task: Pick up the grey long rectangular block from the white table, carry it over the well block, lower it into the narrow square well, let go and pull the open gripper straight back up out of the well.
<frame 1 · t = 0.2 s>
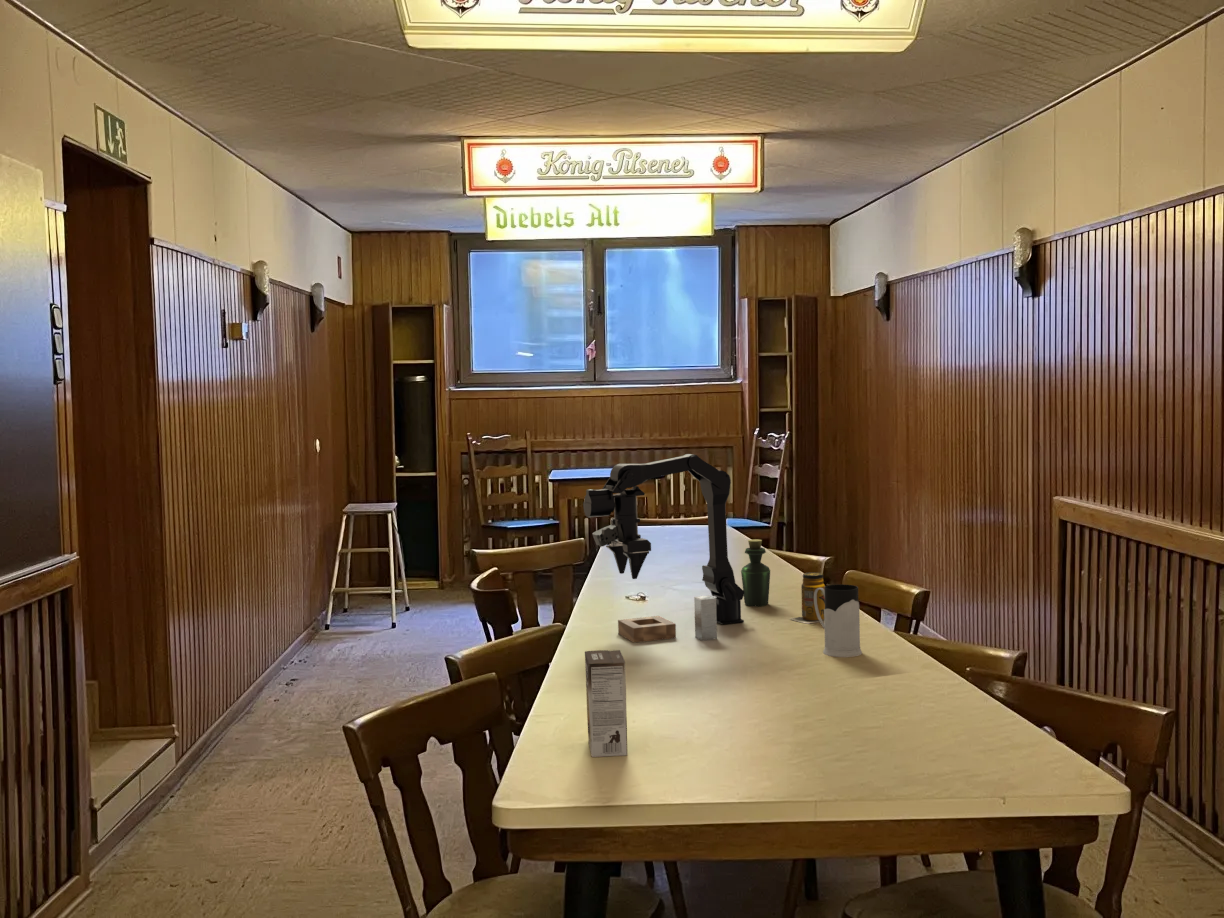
hand: (628, 576, 285), 14 cm above the table, fingers open, 9 cm apart
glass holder: (834, 651, 261), on the table
potion bottle: (756, 605, 317), on the table
condiment: (810, 620, 295), on the table
grey long rectangular block: (706, 638, 277), on the table
coffee box: (607, 749, 195), on the table
well block: (646, 635, 282), on the table
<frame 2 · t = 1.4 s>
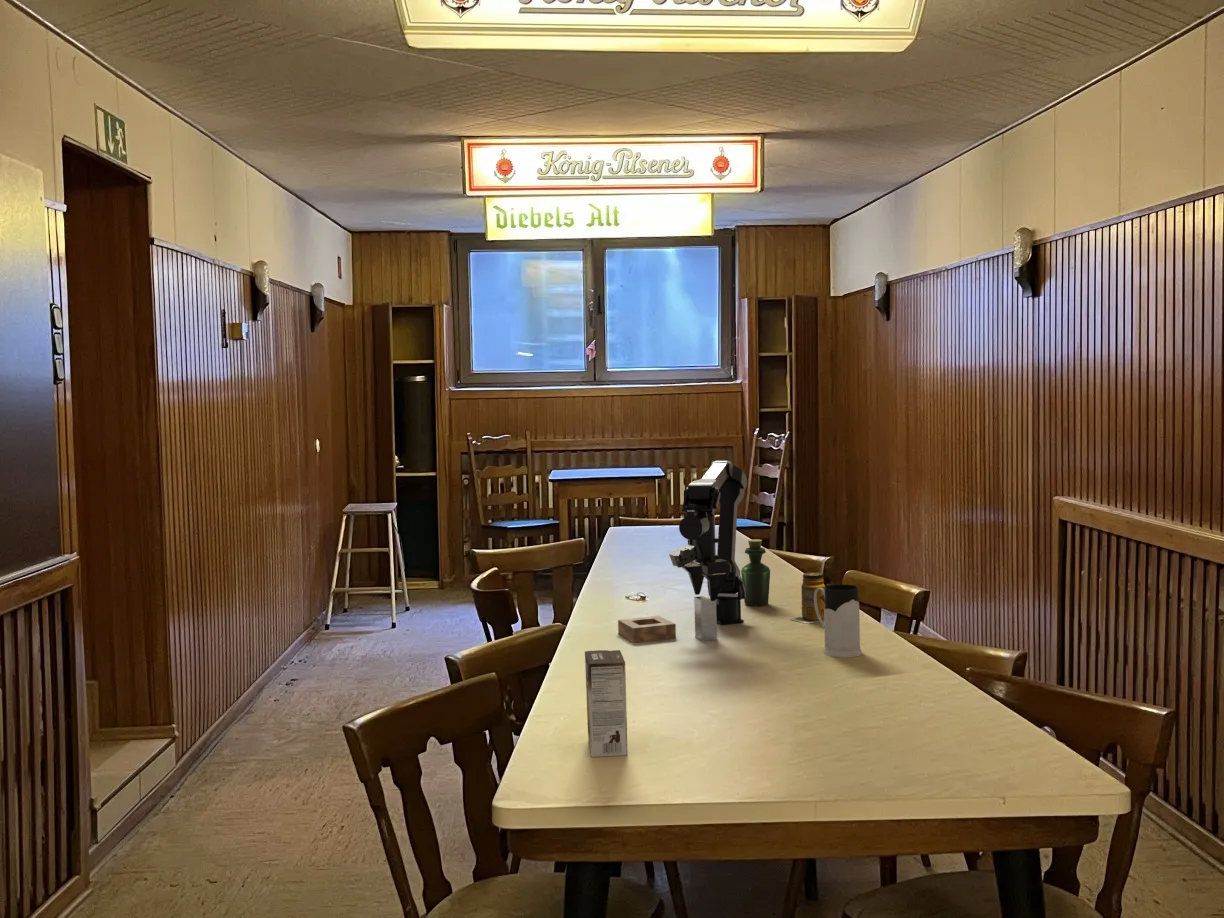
hand: (705, 597, 277), 10 cm above the table, fingers open, 9 cm apart
nothing on the table moved.
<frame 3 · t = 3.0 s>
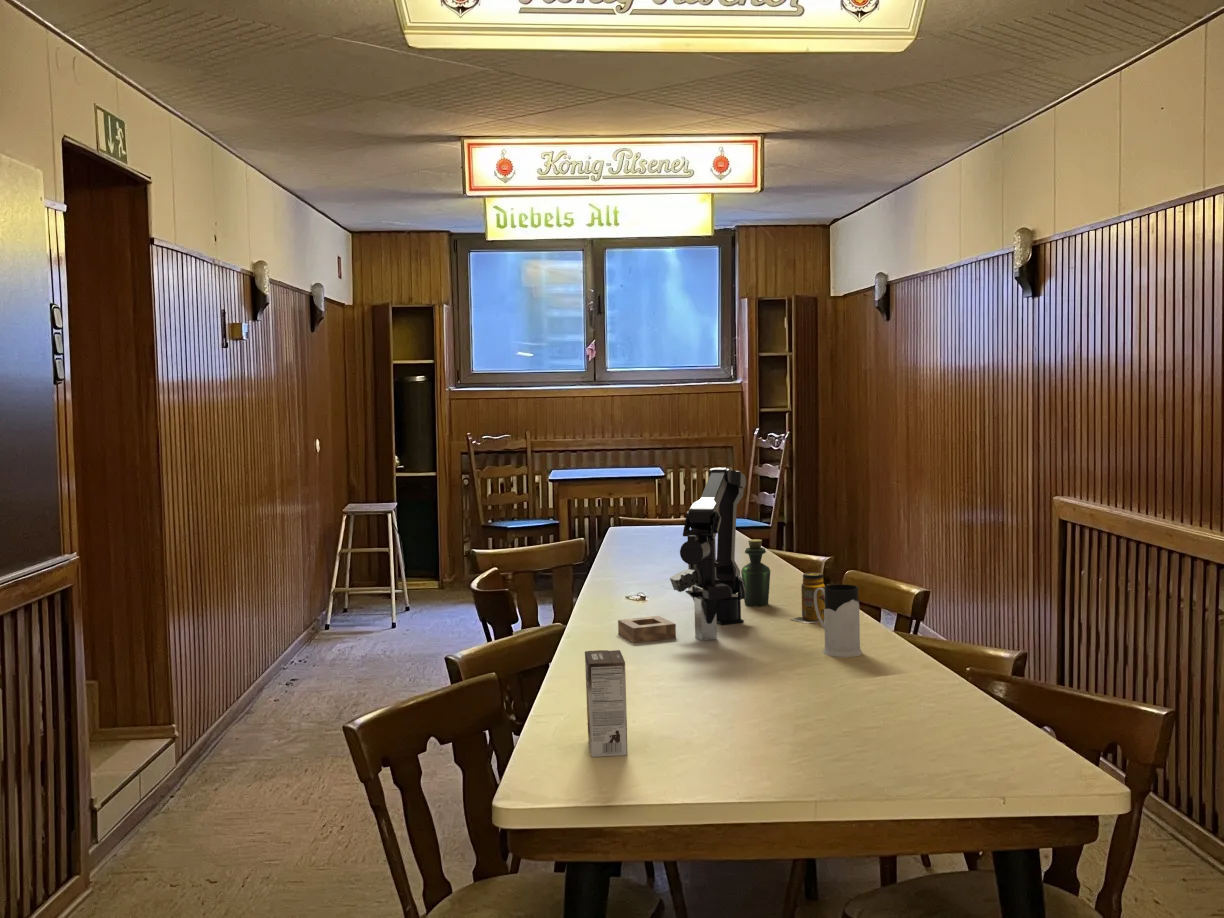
hand: (705, 621, 277), 4 cm above the table, fingers closed on grey long rectangular block, 4 cm apart
grey long rectangular block: (706, 638, 277), on the table, touching gripper
everything else where it was.
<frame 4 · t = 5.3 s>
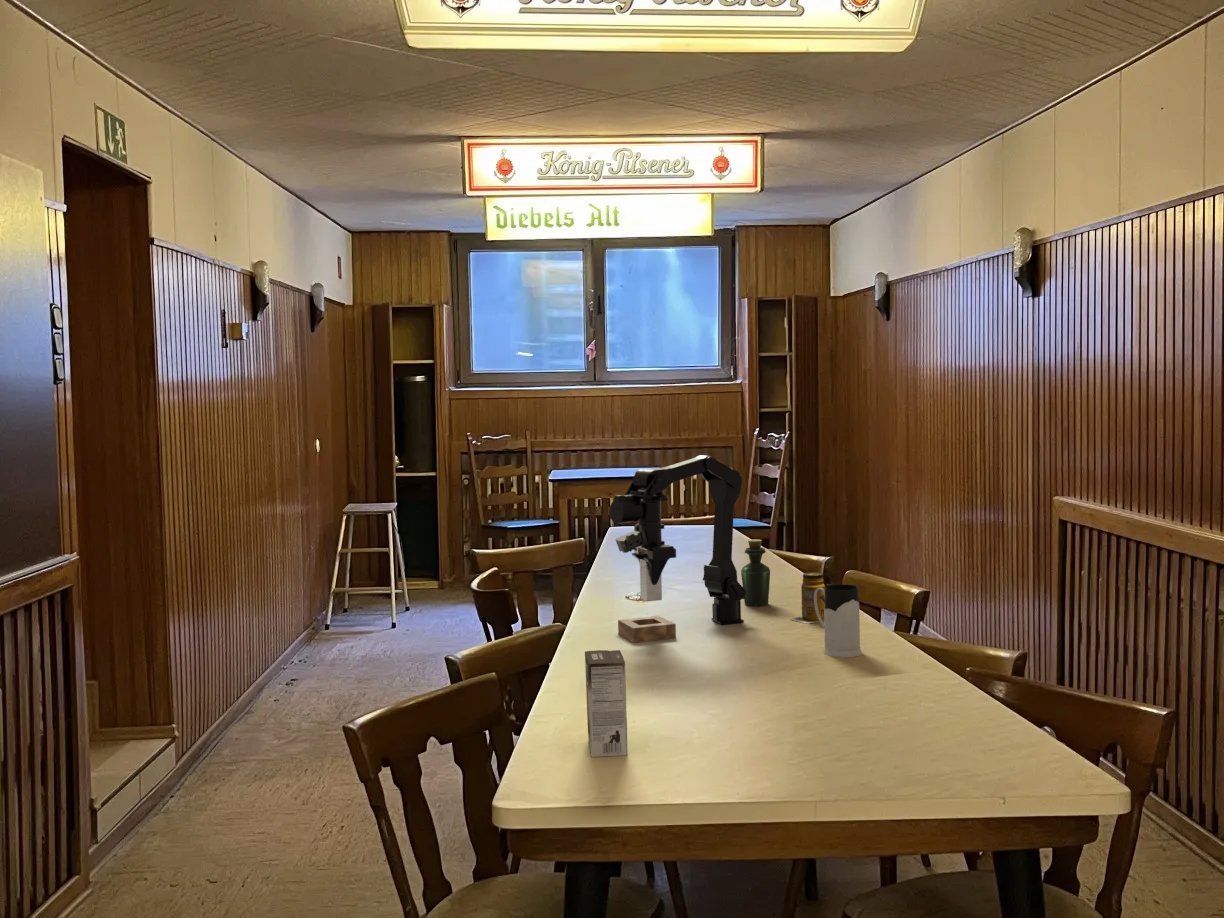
hand: (650, 583, 280), 13 cm above the table, fingers closed on grey long rectangular block, 4 cm apart
grey long rectangular block: (651, 599, 280), point 9 cm above the table, touching gripper
everything else where it was.
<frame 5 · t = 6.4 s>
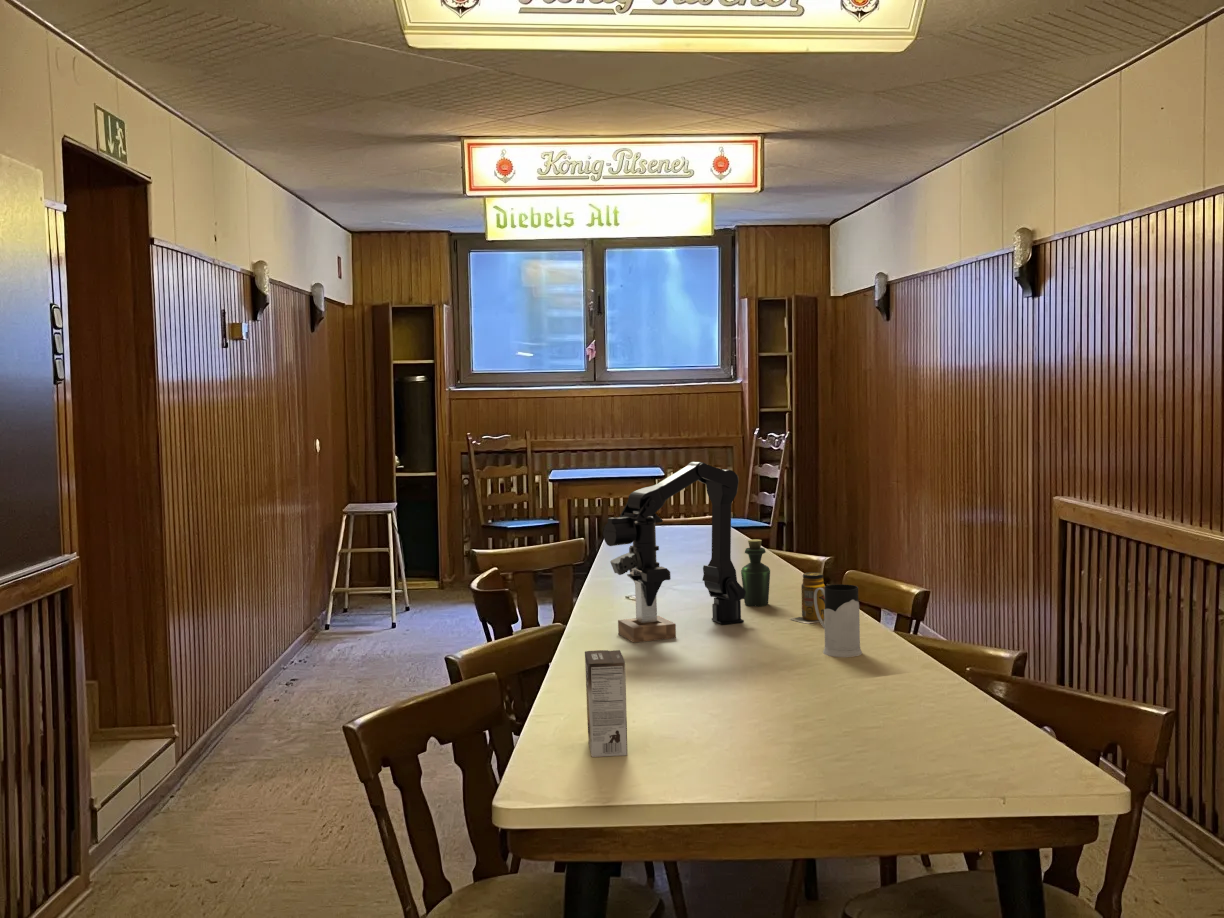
hand: (646, 604, 281), 8 cm above the table, fingers closed on grey long rectangular block, 4 cm apart
grey long rectangular block: (646, 620, 281), point 4 cm above the table, touching gripper
everything else where it was.
when the fingers open (5 cm above the table, at t = 7.6 s): grey long rectangular block drops 1 cm, resting in well block.
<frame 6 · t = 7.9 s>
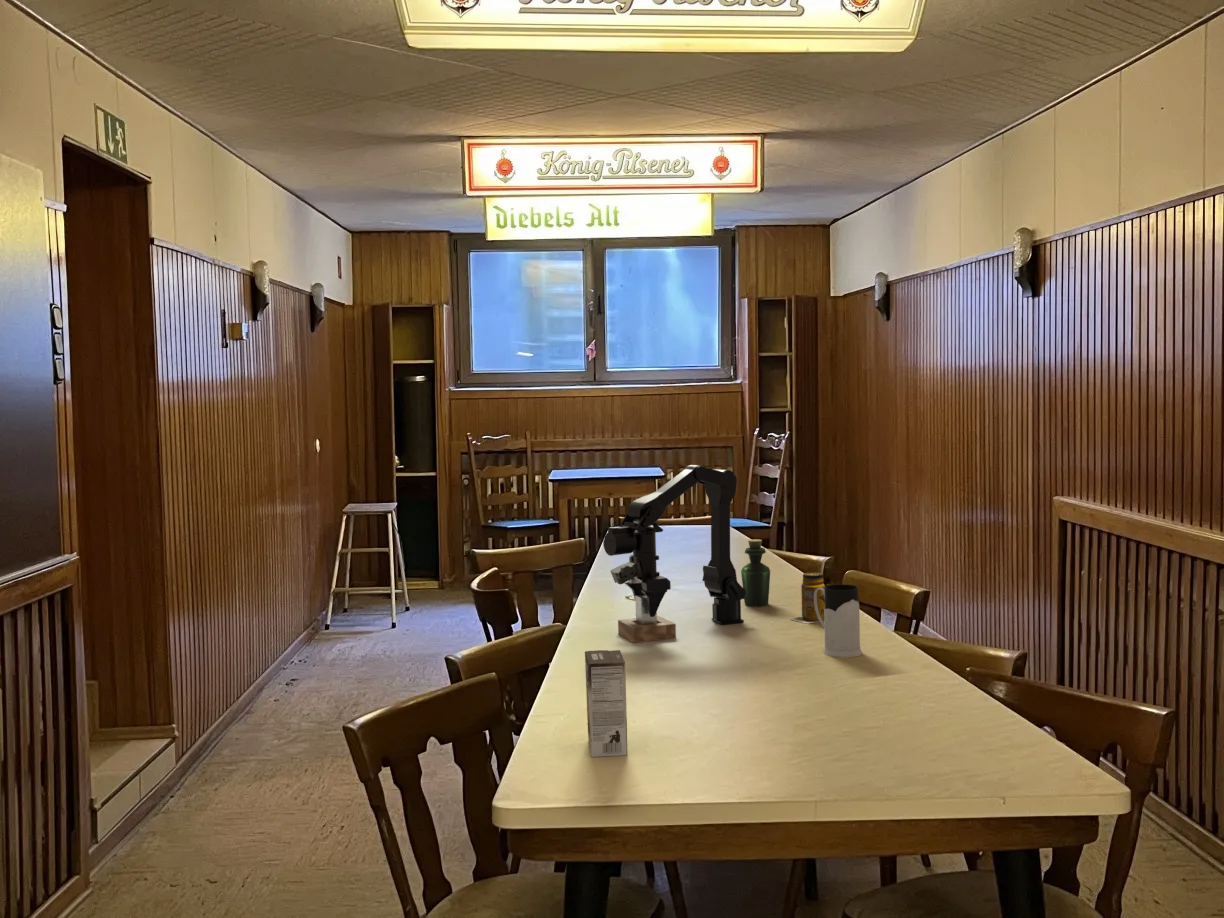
hand: (646, 613, 281), 5 cm above the table, fingers open, 8 cm apart
grey long rectangular block: (646, 635, 282), resting in well block
everything else where it was.
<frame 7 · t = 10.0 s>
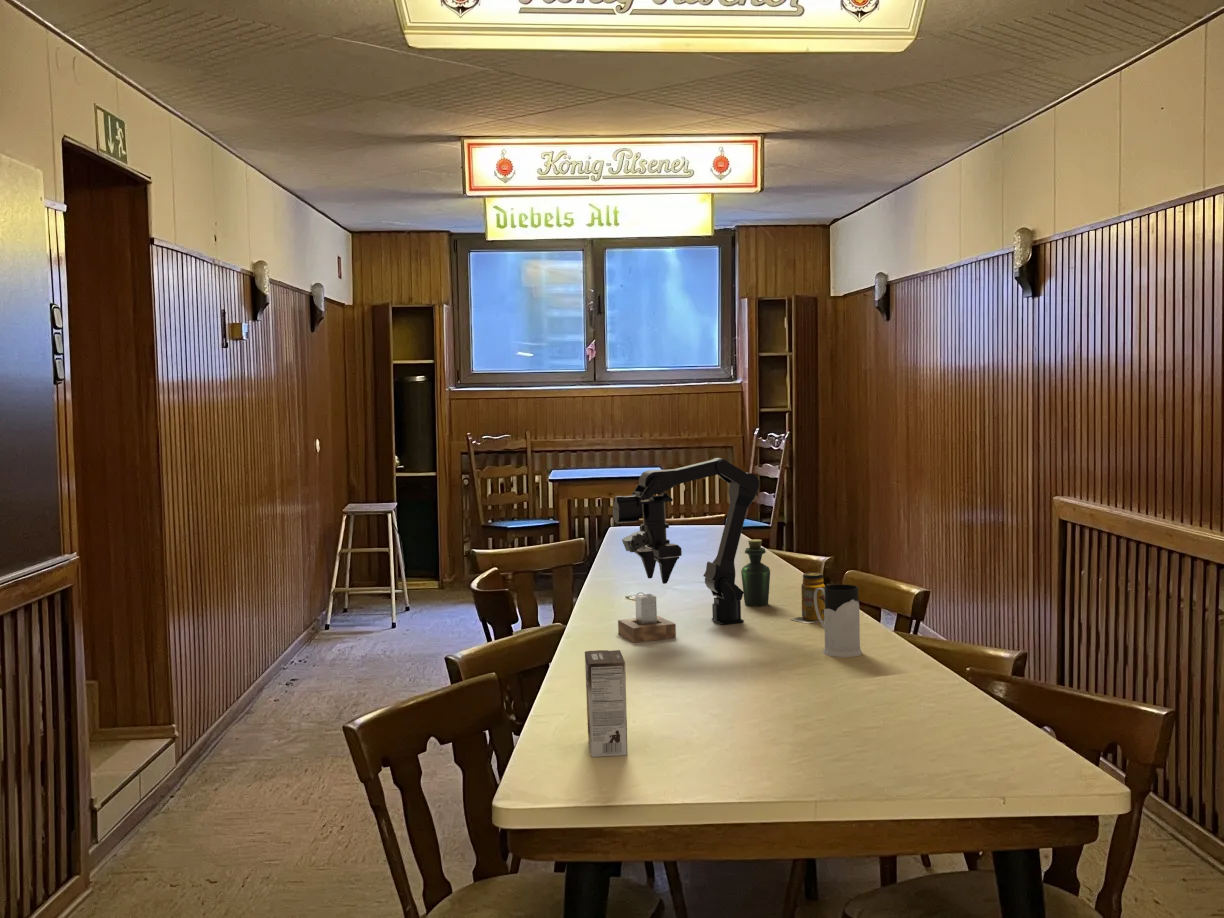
hand: (657, 580, 289), 12 cm above the table, fingers open, 9 cm apart
nothing on the table moved.
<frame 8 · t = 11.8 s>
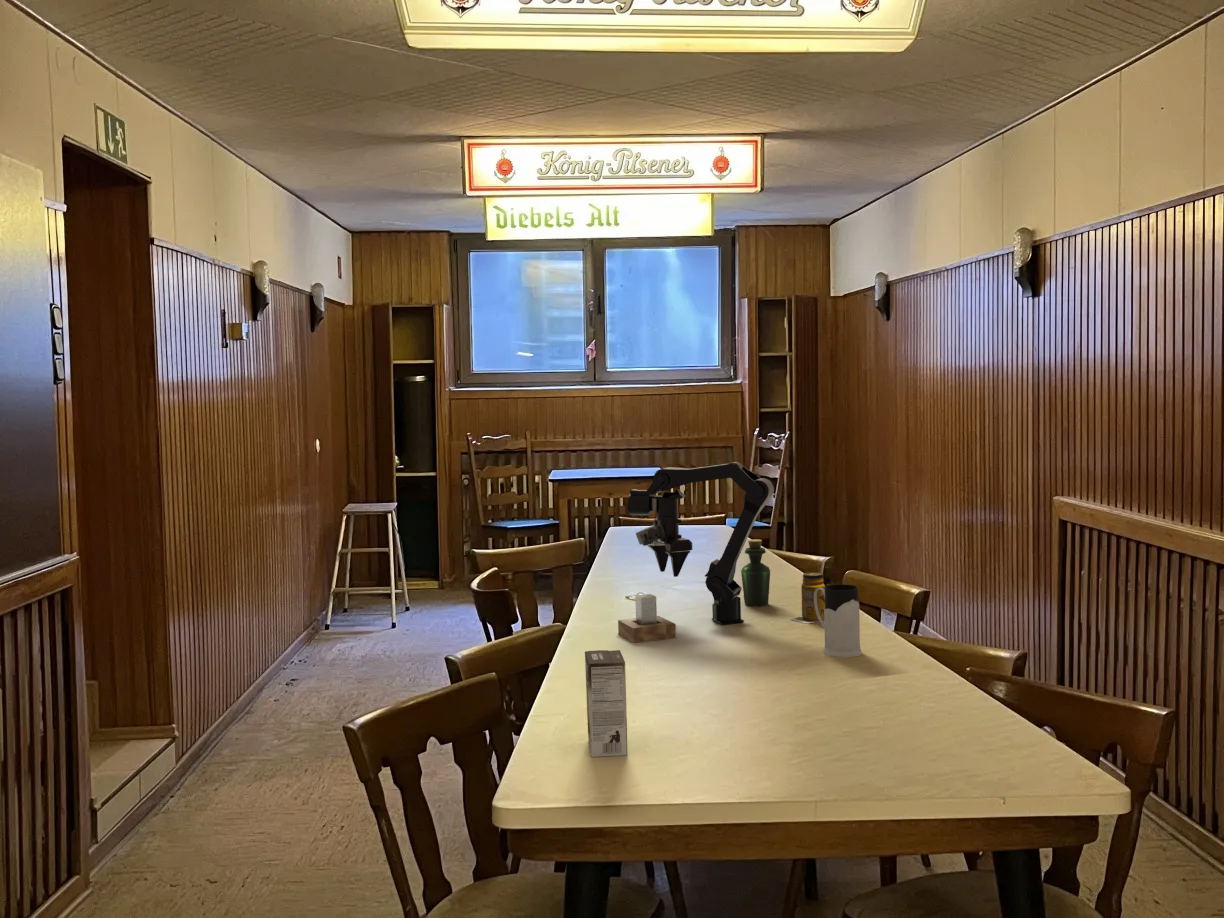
hand: (669, 574, 300), 12 cm above the table, fingers open, 9 cm apart
nothing on the table moved.
at the end: grey long rectangular block 0.0 cm off-centre on the well block, point 0.0 cm above the well block's base; grey long rectangular block tilted 0°; the gripper is holding nothing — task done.
